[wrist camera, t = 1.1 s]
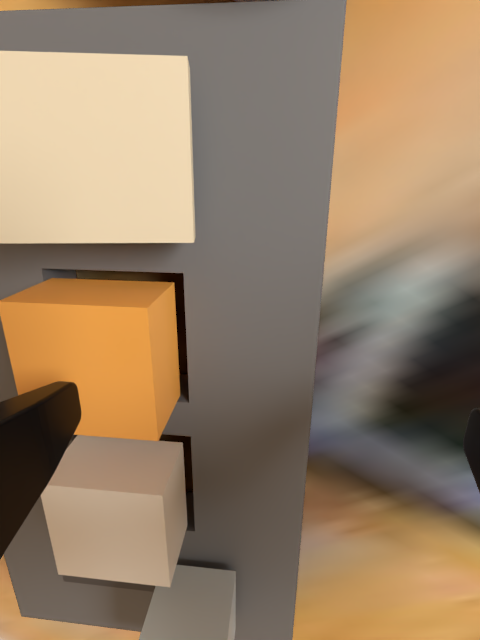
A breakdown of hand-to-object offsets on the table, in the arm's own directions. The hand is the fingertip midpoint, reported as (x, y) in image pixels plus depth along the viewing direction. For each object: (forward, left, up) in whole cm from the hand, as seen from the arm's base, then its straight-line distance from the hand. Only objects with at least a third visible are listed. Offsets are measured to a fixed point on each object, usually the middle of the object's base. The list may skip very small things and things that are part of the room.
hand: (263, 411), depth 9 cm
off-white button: (+5, +6, -4) cm, 9 cm away
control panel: (+5, +3, -6) cm, 8 cm away
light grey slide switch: (+2, +12, -3) cm, 12 cm away
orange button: (+5, 0, -4) cm, 6 cm away
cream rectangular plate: (+5, -5, -2) cm, 8 cm away
